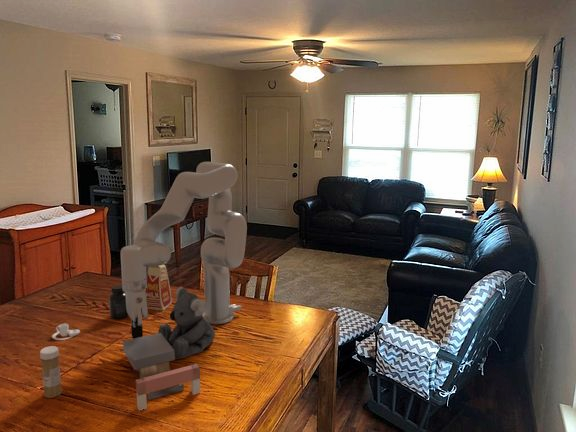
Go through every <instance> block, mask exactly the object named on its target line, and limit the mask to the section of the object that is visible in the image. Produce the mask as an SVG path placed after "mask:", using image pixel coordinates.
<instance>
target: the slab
mask: <svg viewBox="0 0 576 432" xmlns="http://www.w3.org/2000/svg"><path fill="white" fill-rule="evenodd" d="M122 350H123V352H124V354H125V357H126V358H127V359H128V361H129V363H130V365H131V367H132V368H133V370H134V371H136V370H137V369H140V368H144V367H148V366H152V365H156V364H160V363H164V362H172V361H175V360H176V359H175V351H174V349H173V348H172V346H171V345H170V344H169V343H168V342H167V340H166V339H165V338H164V336H163V335H162V334H161V333H153V334H149V335H145V336H144V335H143V336H142V337H139V338H135V339H133V338H130V339H126V340H123V341H122Z"/></svg>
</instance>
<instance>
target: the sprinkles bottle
mask: <svg viewBox="0 0 576 432" xmlns="http://www.w3.org/2000/svg"><path fill="white" fill-rule="evenodd" d="M59 355H60V352H59V348H58V347H57V346H53V345H50V346H46V347H42V349H41V350H39V356H40V357H39V358H40V360H41V370H42V371H41V372H42V385H43V391H44V392H43V395H44V397H45V398H48V399H49V398H50V399H52V398H55V397H58V396H60V395H61V394H62V393H63V390H62V385H61V383H62V379H61V368H60V360H59Z"/></svg>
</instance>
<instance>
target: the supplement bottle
mask: <svg viewBox="0 0 576 432" xmlns="http://www.w3.org/2000/svg"><path fill="white" fill-rule="evenodd" d="M108 300H109V315H110V319H112V320H115V321H117V320H118V321H119V320H124V319H127V318H128V317H130V316H129V315H128V313H127V310H126V292H125V291H123V289H122V284H118V285H113V286H111V294H110V295H109V297H108Z"/></svg>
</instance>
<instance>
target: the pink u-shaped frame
mask: <svg viewBox="0 0 576 432" xmlns="http://www.w3.org/2000/svg"><path fill="white" fill-rule="evenodd" d="M200 369H201V368H200V366H199V364H198V363H194V364H191V365H188V366H183V367H179V368H175V369H170V371H167V372H164V373H160V374H156V375H152V376H149V377H145V378H138V379H135V388H136V389H135V392H136V406H137V407H138V408H137V407H136V408H137V409H139V410H138V412H141V411H144V410H147V409H148V406H147V402H148V401H147V395H148V394H149V393H151V392H154V391H158V390H161V389H165V388H168V387H172V386H175V385H179V384H180V385H181V384H185V383H189V382H190V392H191V394H192V395H197V394H201V374H200V373H201V371H200ZM143 409H144V410H143ZM140 410H141V411H140Z"/></svg>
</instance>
